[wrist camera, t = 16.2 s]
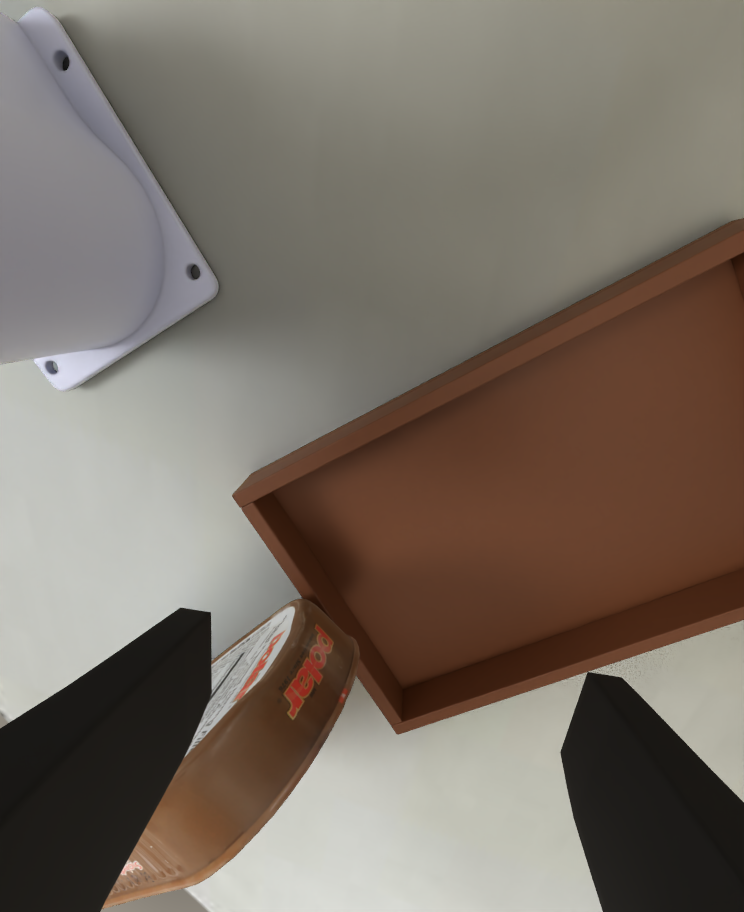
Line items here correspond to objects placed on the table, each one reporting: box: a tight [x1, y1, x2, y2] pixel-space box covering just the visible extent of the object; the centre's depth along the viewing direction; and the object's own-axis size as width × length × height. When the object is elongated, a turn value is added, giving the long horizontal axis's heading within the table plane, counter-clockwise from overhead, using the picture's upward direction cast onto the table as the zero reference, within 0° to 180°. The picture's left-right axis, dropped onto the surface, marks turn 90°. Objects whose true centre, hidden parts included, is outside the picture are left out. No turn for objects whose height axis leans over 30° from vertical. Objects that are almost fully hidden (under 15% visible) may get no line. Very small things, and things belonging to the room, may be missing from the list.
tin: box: [102, 599, 360, 909], centre depth 17 cm, size 15×3×8 cm, turn 136°
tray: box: [232, 218, 744, 734], centre depth 17 cm, size 13×19×2 cm
